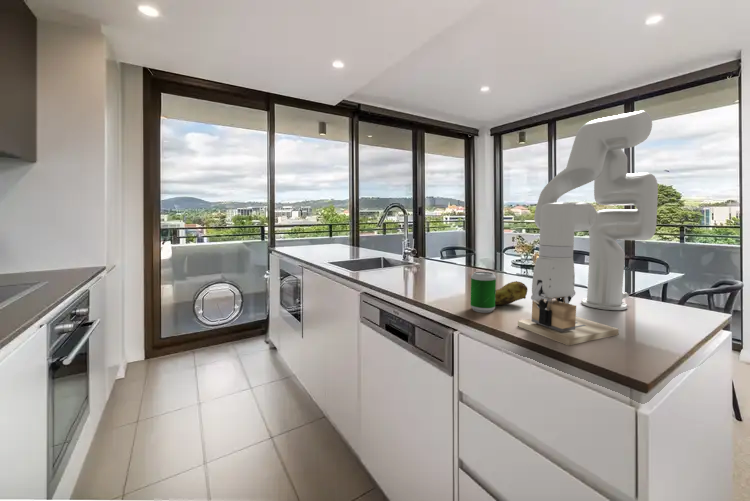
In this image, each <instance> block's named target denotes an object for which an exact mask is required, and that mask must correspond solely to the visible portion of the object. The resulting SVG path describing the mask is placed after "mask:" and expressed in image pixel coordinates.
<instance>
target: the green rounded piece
mask: <svg viewBox="0 0 750 501" xmlns="http://www.w3.org/2000/svg"><path fill="white" fill-rule="evenodd" d="M527 293H528V286H527V285H526V284H525V283H523V282H522V281H517V280H515V281H511V282H508V283H506V284H504V285H503V286H502V287H501V288H498V289H496V293H495V306H497V305H498V306H501V305H502V306H505V305H510V304H512V303H514V302H517V301H521V300H522V299H524V300H525V299H526V298H527V297H526V296H527Z"/></svg>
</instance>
